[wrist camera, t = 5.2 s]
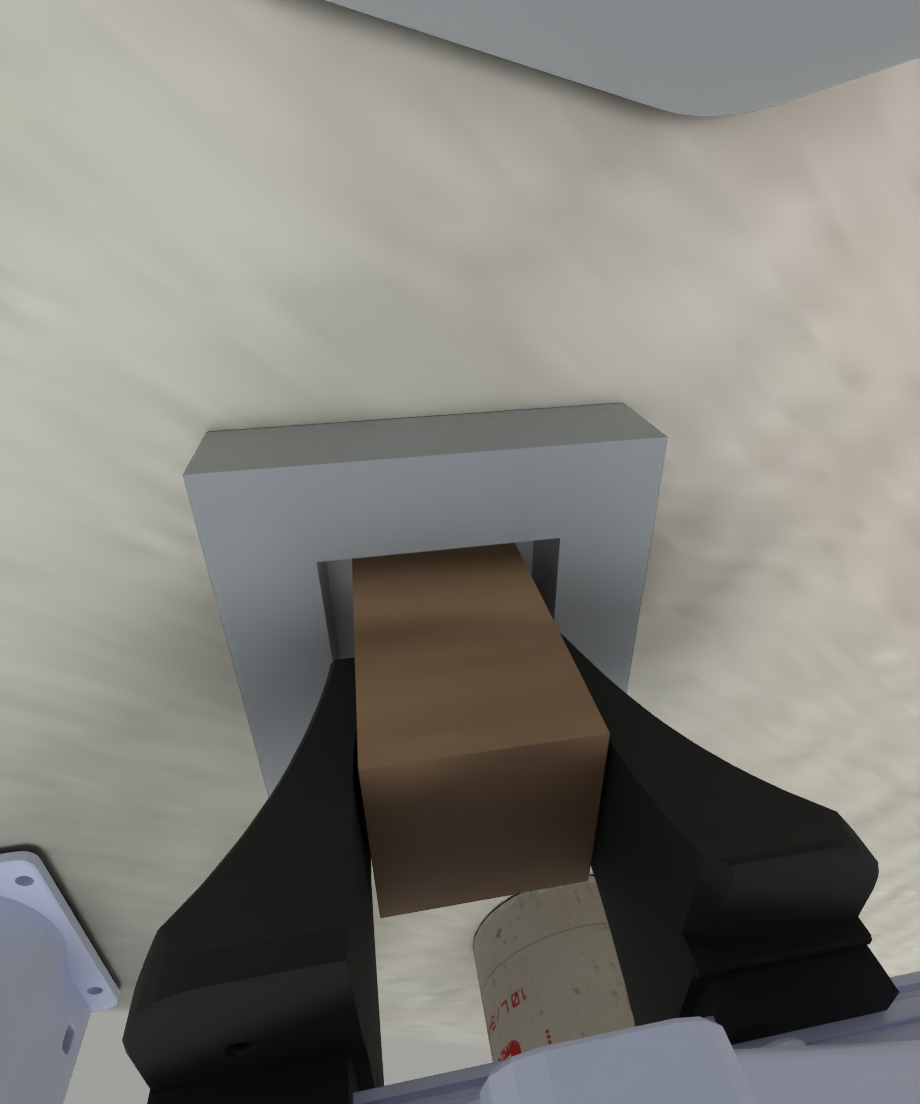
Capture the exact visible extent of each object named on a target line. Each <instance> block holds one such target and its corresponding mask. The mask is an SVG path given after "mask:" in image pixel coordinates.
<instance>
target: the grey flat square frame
mask: <svg viewBox="0 0 920 1104" xmlns="http://www.w3.org/2000/svg"><path fill="white" fill-rule="evenodd" d="M667 438H668V437H667V436H666V435H664V434H663V433H662V432H660V431H659V430H658V429H656V428H655V427H654V426H652V425H651V424H650V423H648V422H647V421H646V420H644V419H643V418H642V417H640V416H639V415H638V414H637V413H635V412H634V411H633V410H631V409H630V408H629V407H627V406H626V405H625V404H623V403H616V404H601V405H587V406H573V407H558V408H544V409H530V410H515V411H501V412H487V413H472V414H458V415H444V416H429V417H415V418H401V419H386V420H372V421H358V422H343V423H329V424H315V425H301V426H286V427H272V428H258V429H243V430H229V431H215V432H206V434H205V436H204V438H203V439H202V441H201V443H200V445H199V447H198V448H197V450H196V452H195V454H194V456H193V457H192V459H191V461H190V463H189V465H188V466H187V468H186V470H185V472H184V474H183V478H184V482H185V486H186V489H187V493H188V497H189V501H190V504H191V508H192V512H193V516H194V519H195V523H196V527H197V531H198V534H199V538H200V542H201V546H202V549H203V553H204V557H205V561H206V564H207V568H208V572H209V576H210V579H211V583H212V587H213V591H214V594H215V598H216V602H217V606H218V609H219V613H220V617H221V621H222V624H223V628H224V632H225V636H226V639H227V643H228V647H229V651H230V654H231V658H232V662H233V665H234V669H235V673H236V677H237V680H238V684H239V688H240V692H241V695H242V699H243V703H244V707H245V710H246V714H247V718H248V722H249V725H250V729H251V733H252V737H253V740H254V744H255V748H256V752H257V755H258V759H259V763H260V767H261V770H262V774H263V778H264V782H265V785H266V789H267V793H268V797H270V795H271V794H272V792H273V790H274V789H275V787H276V786H277V784H278V782H279V781H280V779H281V777H282V776H283V774H284V772H285V771H286V769H287V767H288V765H289V763H290V762H291V760H292V758H293V756H294V754H295V752H296V750H297V748H298V746H299V744H300V742H301V740H302V739H303V737H304V735H305V732H306V730H307V728H308V726H309V724H310V721H311V719H312V717H313V714H314V712H315V710H316V708H317V705H318V703H319V700H320V697H321V695H322V692H323V689H324V686H325V683H326V680H327V677H328V673H329V669H330V664H331V663H332V662H333V661H334V660H336V659H344V658H352V657H355V646H354V614H353V581H352V559H353V558H363V557H373V556H384V555H394V554H404V553H414V552H424V551H434V550H444V549H454V548H464V547H474V546H484V545H494V544H504V543H515V544H516V546H517V548H518V550H519V552H520V554H521V556H522V558H523V560H524V562H525V564H526V566H527V568H528V570H529V572H530V574H531V576H532V578H533V580H534V582H535V584H536V586H537V588H538V590H539V592H540V594H541V596H542V598H543V600H544V602H545V604H546V606H547V608H548V610H549V612H550V614H551V616H552V618H553V620H554V622H555V624H556V626H557V628H558V630H559V632H560V633H561V634H562V635H563V636H565V637H566V638H567V639H568V640H569V641H570V642H571V643H572V644H573V645H574V646H575V647H576V648H577V649H578V650H579V651H580V652H581V653H582V654H583V655H584V656H585V657H586V658H587V659H588V660H590V661H591V662H592V663H593V664H594V665H595V666H596V667H597V668H598V669H599V670H600V671H601V672H602V673H603V674H605V675H606V676H607V677H608V678H609V679H610V680H611V681H612V682H614V683H615V684H616V685H617V686H618V687H619V688H620V689H622V690H623V691H624V692H625V693H626V692H627V686H628V680H629V674H630V668H631V661H632V655H633V649H634V643H635V637H636V630H637V624H638V618H639V612H640V606H641V599H642V593H643V587H644V581H645V575H646V569H647V562H648V556H649V550H650V544H651V538H652V531H653V525H654V519H655V513H656V507H657V500H658V494H659V488H660V482H661V476H662V469H663V463H664V457H665V451H666V445H667Z"/></svg>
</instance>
